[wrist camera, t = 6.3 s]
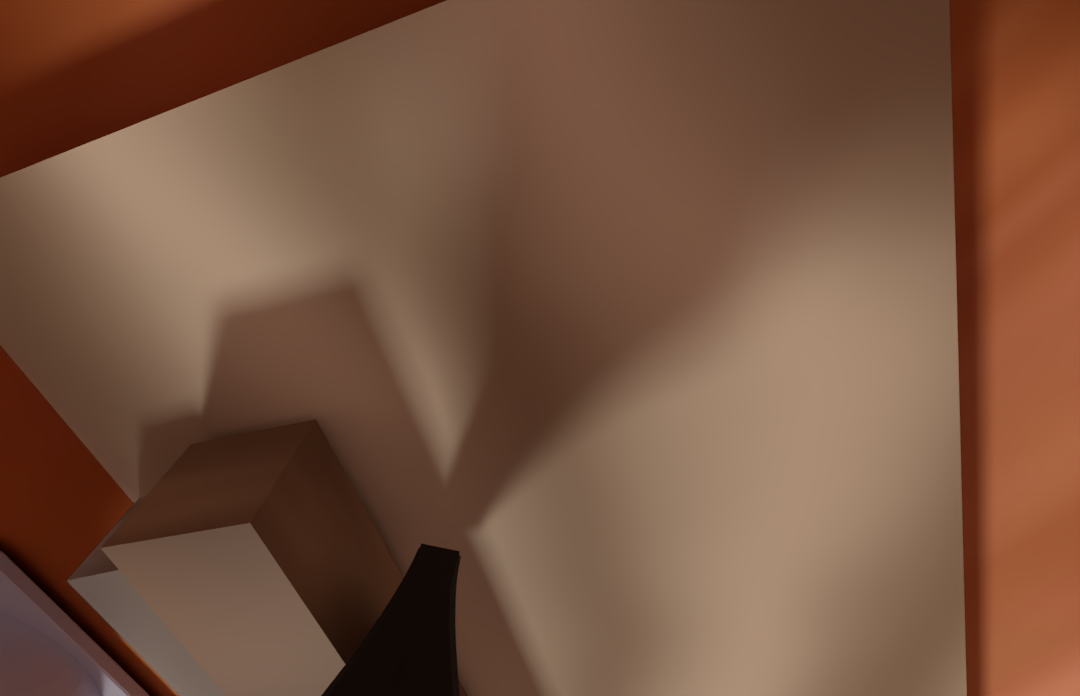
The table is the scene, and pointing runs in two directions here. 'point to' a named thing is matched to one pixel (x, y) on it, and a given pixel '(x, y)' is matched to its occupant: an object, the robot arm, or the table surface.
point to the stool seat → (554, 329)
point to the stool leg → (260, 560)
